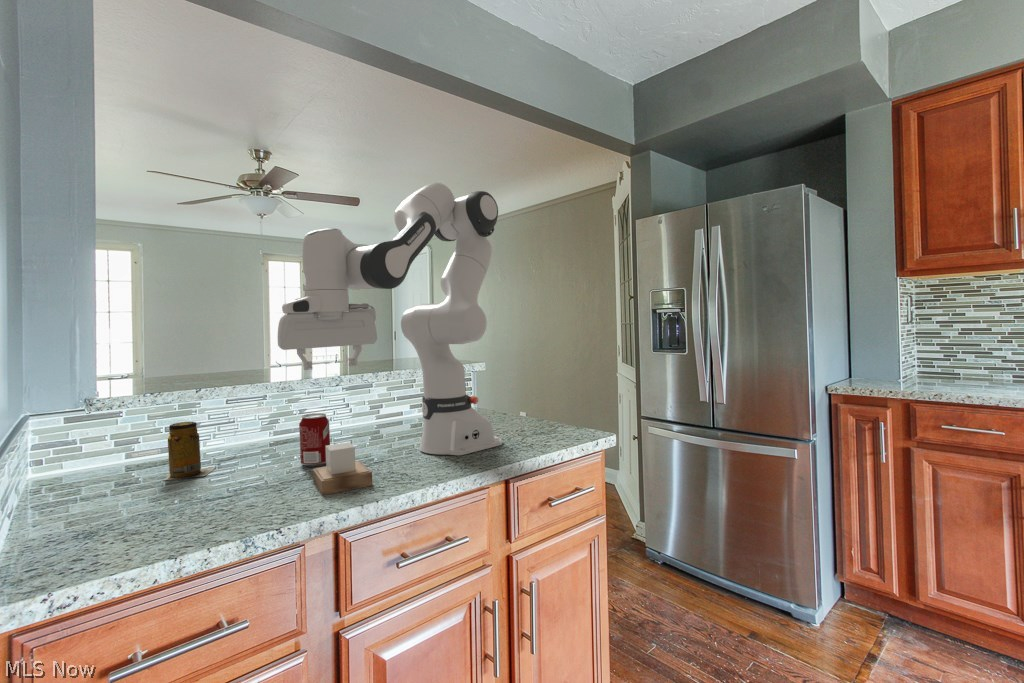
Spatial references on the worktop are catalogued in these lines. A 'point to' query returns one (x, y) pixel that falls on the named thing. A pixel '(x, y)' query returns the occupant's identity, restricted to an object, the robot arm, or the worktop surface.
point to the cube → (340, 458)
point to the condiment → (184, 452)
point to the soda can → (314, 439)
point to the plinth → (342, 479)
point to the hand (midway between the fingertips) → (331, 367)
